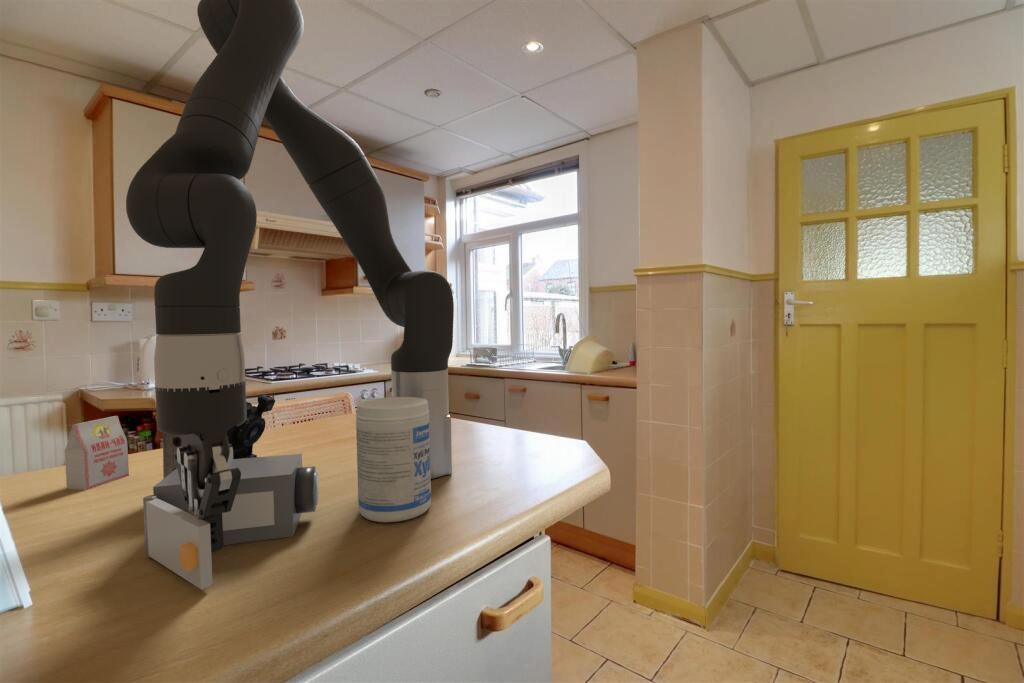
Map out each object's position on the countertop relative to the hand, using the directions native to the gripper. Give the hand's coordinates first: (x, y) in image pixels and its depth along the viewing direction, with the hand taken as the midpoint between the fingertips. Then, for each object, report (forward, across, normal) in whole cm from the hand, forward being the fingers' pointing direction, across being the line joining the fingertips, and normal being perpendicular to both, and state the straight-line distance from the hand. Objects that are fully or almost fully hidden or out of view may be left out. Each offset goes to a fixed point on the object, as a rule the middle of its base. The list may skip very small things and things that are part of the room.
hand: (209, 550), depth 49 cm
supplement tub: (+3, 0, +22) cm, 22 cm away
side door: (+2, -3, -2) cm, 5 cm away
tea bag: (+3, -46, -3) cm, 46 cm away
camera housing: (+3, -9, +7) cm, 12 cm away
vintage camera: (+3, -25, +10) cm, 27 cm away
